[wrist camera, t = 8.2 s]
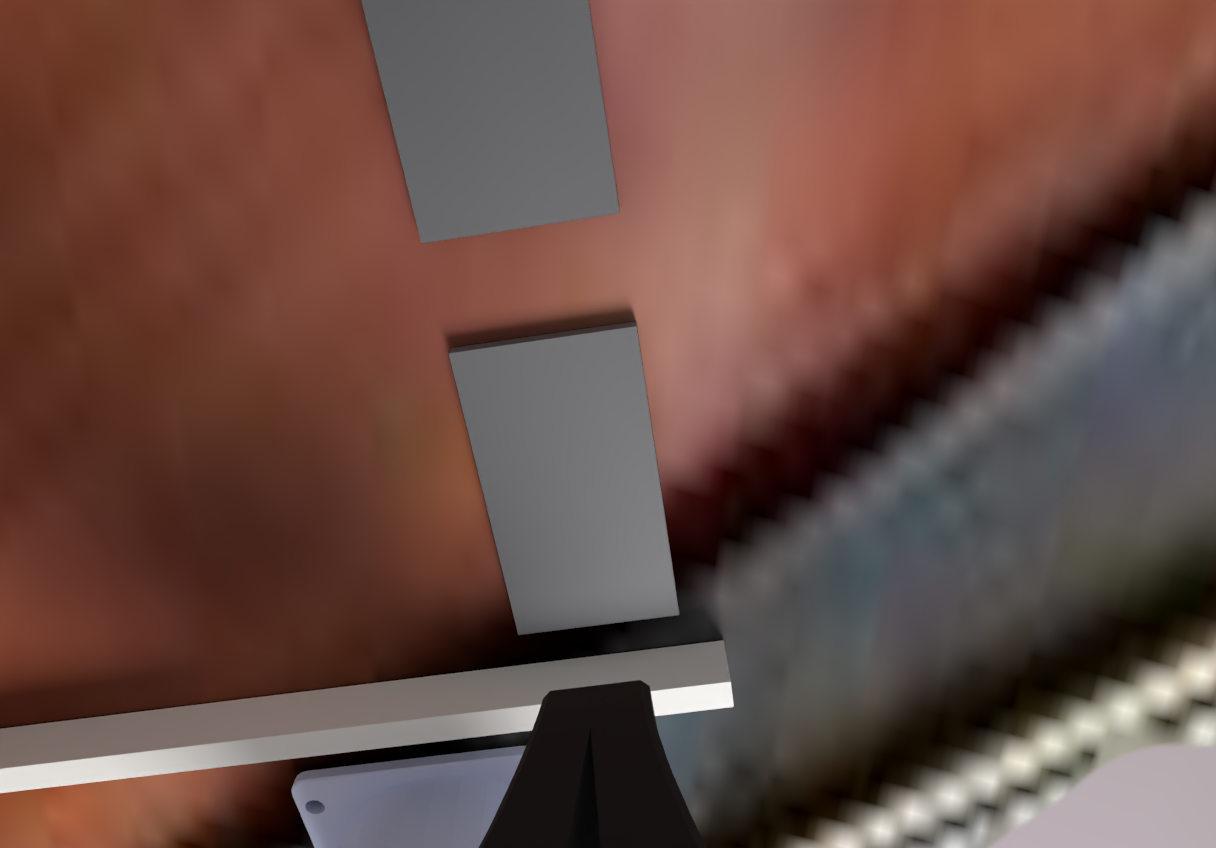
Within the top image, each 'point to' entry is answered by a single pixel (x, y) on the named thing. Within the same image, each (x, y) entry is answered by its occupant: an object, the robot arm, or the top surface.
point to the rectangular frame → (476, 425)
